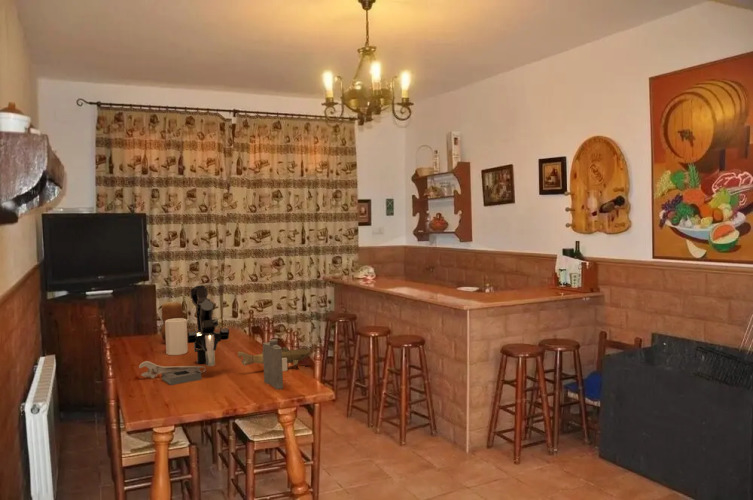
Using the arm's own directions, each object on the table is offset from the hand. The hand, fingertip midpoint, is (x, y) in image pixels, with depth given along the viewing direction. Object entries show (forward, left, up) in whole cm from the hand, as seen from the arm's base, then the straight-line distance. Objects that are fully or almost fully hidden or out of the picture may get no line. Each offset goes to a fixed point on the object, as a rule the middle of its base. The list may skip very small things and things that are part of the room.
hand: (210, 350), depth 274 cm
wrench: (-16, -12, -13) cm, 24 cm away
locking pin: (-1, 0, -7) cm, 7 cm away
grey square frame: (-6, -12, -13) cm, 18 cm away
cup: (-62, +5, -13) cm, 64 cm away
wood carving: (+9, +28, -13) cm, 32 cm away
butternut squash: (-91, +13, -13) cm, 93 cm away
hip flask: (+31, +16, -13) cm, 37 cm away
